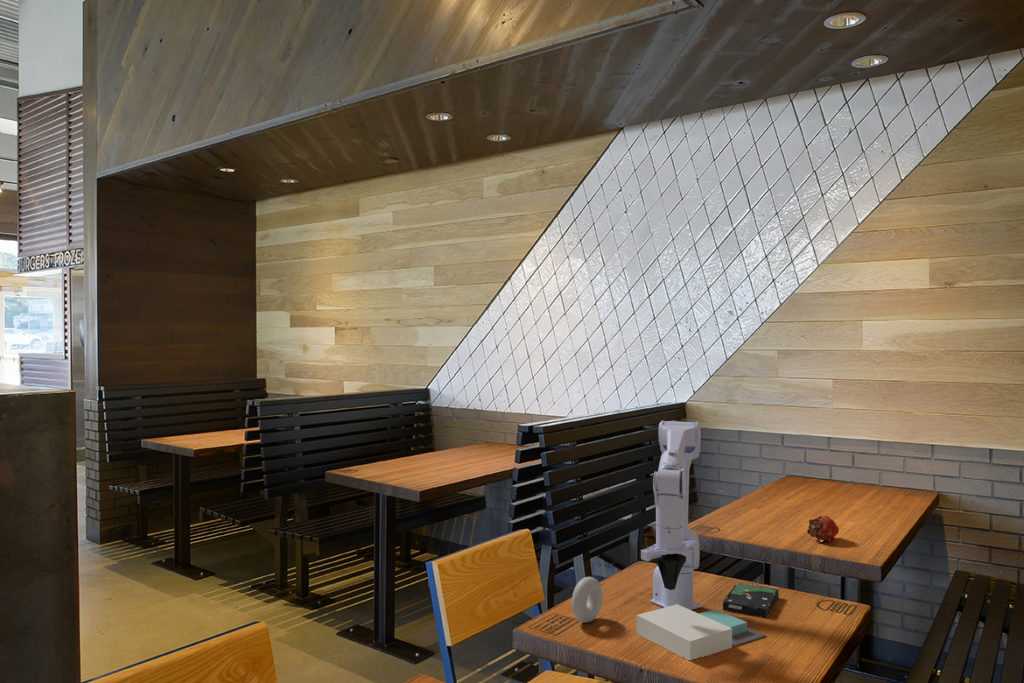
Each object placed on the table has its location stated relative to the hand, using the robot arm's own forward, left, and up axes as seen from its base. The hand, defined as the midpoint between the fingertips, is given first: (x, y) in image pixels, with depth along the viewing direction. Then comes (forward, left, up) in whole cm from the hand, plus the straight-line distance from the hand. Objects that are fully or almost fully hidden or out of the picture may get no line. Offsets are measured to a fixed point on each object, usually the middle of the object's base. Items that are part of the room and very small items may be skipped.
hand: (669, 588), depth 158 cm
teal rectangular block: (+3, +13, -8) cm, 15 cm away
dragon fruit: (-28, +91, -11) cm, 96 cm away
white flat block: (+3, +1, -10) cm, 11 cm away
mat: (+3, +13, -10) cm, 17 cm away
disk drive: (-4, +30, -11) cm, 32 cm away
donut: (-16, -10, -11) cm, 22 cm away
